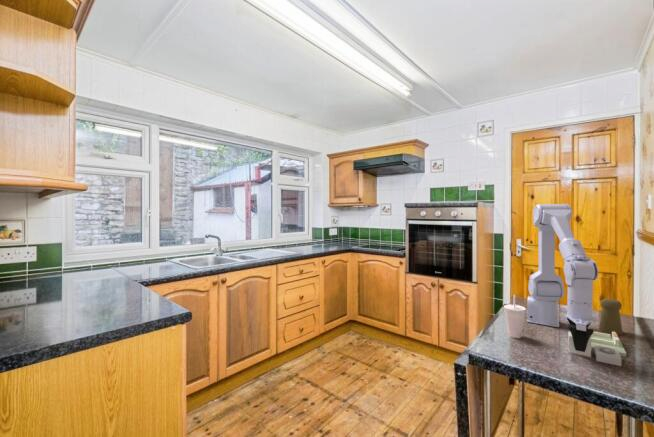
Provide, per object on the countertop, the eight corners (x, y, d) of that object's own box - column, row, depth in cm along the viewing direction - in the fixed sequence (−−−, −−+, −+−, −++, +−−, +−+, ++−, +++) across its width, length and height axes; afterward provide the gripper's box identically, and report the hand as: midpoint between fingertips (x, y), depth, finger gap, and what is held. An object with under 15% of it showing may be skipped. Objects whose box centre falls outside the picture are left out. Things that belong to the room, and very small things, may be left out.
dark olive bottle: (616, 329, 106) (617, 297, 106) (627, 336, 100) (627, 302, 100) (595, 327, 108) (595, 296, 108) (604, 333, 102) (604, 301, 102)
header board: (572, 346, 94) (572, 335, 94) (570, 332, 104) (570, 323, 103) (626, 357, 87) (626, 345, 87) (619, 341, 96) (619, 331, 96)
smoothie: (501, 336, 102) (501, 294, 101) (506, 330, 107) (506, 290, 106) (523, 341, 98) (524, 298, 97) (527, 335, 102) (528, 293, 102)
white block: (568, 352, 90) (568, 334, 90) (568, 347, 93) (568, 330, 93) (591, 357, 87) (591, 339, 87) (589, 351, 90) (589, 334, 90)
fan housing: (596, 361, 85) (596, 351, 85) (594, 352, 90) (594, 343, 90) (621, 366, 82) (621, 356, 82) (617, 357, 87) (617, 347, 87)
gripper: (601, 310, 81) (600, 360, 82) (595, 297, 93) (594, 341, 94) (567, 305, 86) (566, 353, 86) (565, 293, 97) (565, 335, 98)
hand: (579, 346), depth 90 cm, fingers open, 6 cm apart
